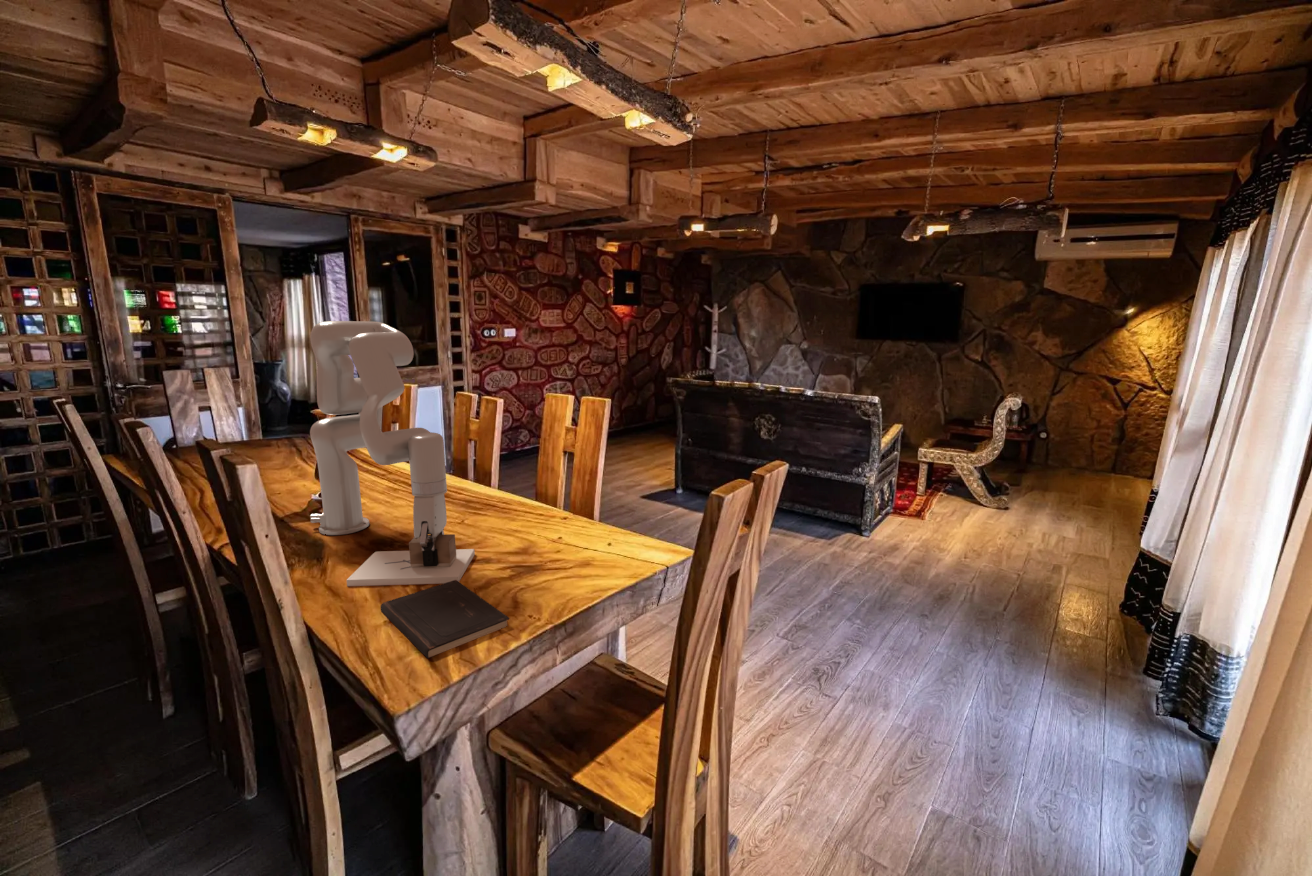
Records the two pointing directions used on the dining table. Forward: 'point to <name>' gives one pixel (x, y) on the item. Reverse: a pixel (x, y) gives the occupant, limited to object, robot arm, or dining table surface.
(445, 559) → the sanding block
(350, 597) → the dining table surface
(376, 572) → the board
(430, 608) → the hardcover book
